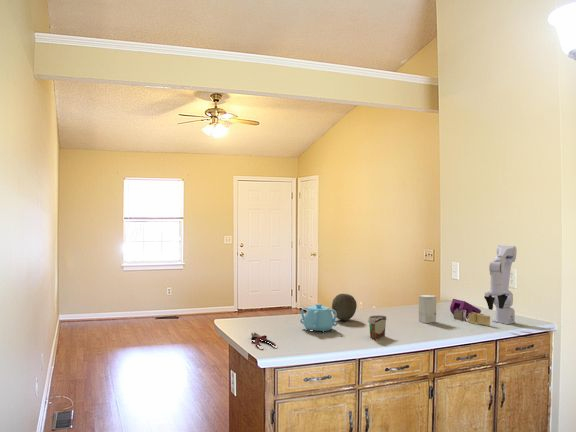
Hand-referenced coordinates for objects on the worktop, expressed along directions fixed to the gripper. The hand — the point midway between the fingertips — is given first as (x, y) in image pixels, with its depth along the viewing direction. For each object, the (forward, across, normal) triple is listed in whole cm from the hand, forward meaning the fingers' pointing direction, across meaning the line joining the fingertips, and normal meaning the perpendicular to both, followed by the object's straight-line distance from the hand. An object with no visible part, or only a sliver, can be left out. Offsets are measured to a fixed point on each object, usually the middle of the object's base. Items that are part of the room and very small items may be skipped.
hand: (495, 309), depth 263 cm
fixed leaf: (+10, +5, -21) cm, 24 cm away
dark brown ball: (+10, +68, -46) cm, 82 cm away
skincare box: (+10, +26, -25) cm, 37 cm away
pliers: (+11, +128, -20) cm, 130 cm away
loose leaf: (+10, +2, -9) cm, 13 cm away
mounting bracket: (+10, -10, -31) cm, 34 cm away
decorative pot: (+10, +92, -32) cm, 97 cm away
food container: (+10, +72, -8) cm, 74 cm away
